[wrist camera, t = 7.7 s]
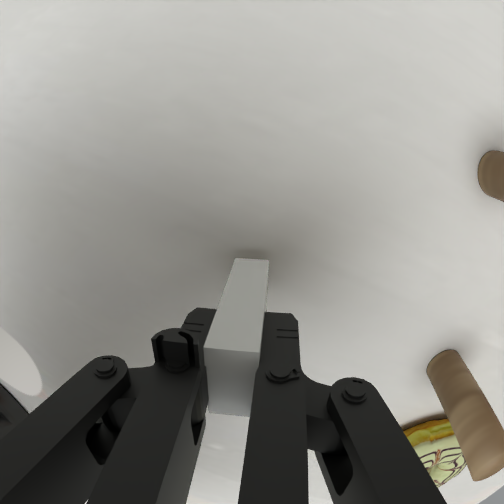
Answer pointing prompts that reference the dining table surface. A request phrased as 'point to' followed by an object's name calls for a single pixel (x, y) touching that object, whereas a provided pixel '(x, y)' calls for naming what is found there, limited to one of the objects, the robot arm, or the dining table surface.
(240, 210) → the dining table surface
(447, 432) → the decorated donut
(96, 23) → the dining table surface
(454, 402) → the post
